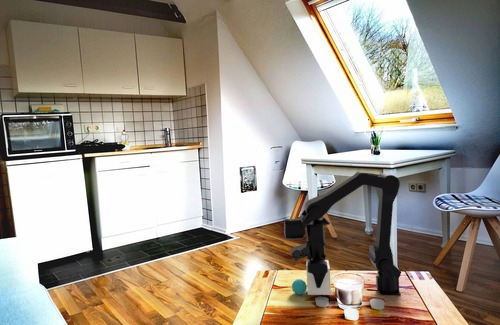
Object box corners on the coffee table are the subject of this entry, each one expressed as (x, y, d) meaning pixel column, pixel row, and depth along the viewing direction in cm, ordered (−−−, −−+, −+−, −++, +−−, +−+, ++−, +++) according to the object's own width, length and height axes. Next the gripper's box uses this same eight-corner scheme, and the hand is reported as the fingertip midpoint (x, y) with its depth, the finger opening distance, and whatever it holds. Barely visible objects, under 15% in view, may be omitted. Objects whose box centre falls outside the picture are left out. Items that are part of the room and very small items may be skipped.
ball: (300, 274, 126) (289, 282, 127) (300, 280, 121) (288, 288, 122) (309, 285, 126) (298, 293, 127) (309, 291, 121) (298, 300, 122)
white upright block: (307, 284, 128) (306, 260, 127) (329, 284, 126) (328, 260, 125) (307, 294, 120) (306, 268, 119) (331, 294, 119) (329, 268, 118)
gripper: (292, 230, 132) (294, 271, 133) (290, 247, 114) (293, 295, 115) (323, 229, 130) (325, 271, 132) (326, 246, 112) (329, 295, 113)
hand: (318, 282), depth 123 cm, fingers closed on white upright block, 7 cm apart
